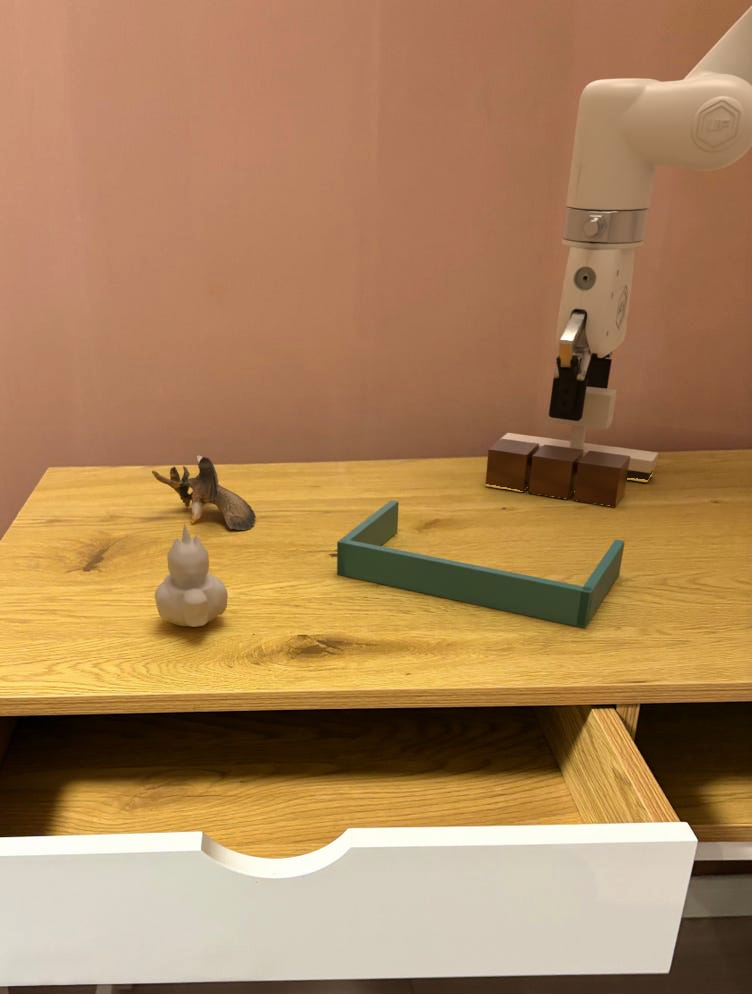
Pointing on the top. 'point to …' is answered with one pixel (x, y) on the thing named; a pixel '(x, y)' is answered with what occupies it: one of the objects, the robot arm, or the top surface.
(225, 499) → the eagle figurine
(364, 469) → the top surface
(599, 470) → the block
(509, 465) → the block
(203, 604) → the grey rounded lumpy piece
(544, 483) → the block
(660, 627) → the top surface
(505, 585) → the corral
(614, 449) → the brush
